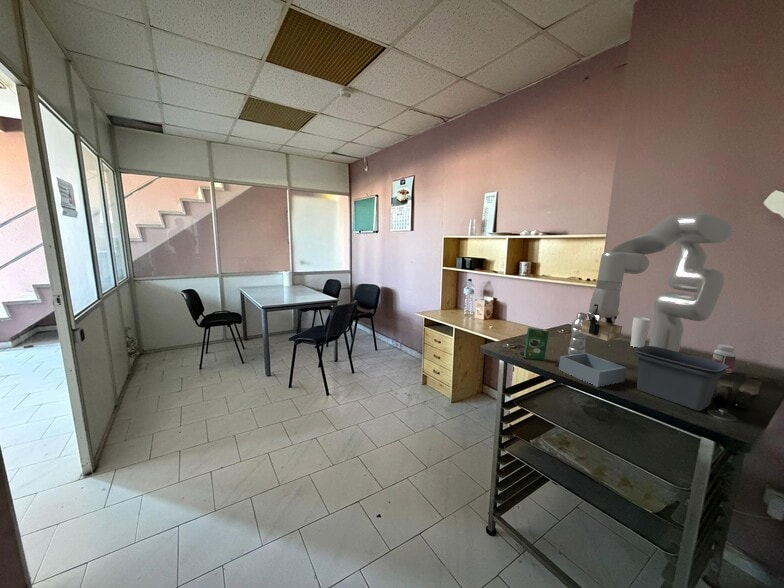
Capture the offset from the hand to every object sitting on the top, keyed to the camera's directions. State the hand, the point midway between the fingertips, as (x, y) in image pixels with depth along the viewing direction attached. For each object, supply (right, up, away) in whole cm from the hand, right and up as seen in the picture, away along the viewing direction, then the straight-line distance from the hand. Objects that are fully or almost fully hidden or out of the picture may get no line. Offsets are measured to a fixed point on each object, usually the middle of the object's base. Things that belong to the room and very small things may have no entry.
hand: (600, 333), depth 117 cm
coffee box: (-17, -13, +17) cm, 27 cm away
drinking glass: (+45, -12, +40) cm, 62 cm away
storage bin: (+15, -20, -12) cm, 28 cm away
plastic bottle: (+3, -14, +20) cm, 25 cm away
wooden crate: (0, -1, 0) cm, 1 cm away
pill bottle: (+58, -18, +13) cm, 62 cm away
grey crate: (-3, -16, +2) cm, 17 cm away
